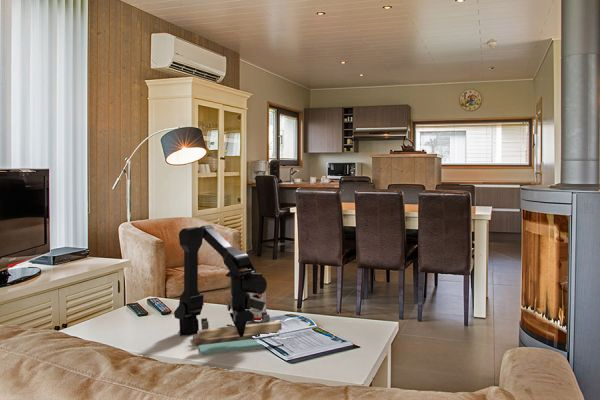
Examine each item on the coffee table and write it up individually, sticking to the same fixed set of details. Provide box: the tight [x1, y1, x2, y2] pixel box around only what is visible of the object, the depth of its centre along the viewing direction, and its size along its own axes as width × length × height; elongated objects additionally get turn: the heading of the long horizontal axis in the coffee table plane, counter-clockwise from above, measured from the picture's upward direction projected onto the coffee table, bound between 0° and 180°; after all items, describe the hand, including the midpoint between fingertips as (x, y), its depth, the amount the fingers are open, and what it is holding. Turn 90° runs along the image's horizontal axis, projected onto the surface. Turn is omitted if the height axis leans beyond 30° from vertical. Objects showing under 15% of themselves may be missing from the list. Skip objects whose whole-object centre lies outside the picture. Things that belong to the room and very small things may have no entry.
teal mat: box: [198, 339, 265, 356], centre depth 182 cm, size 28×9×1 cm, turn 106°
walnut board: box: [192, 330, 280, 346], centre depth 192 cm, size 30×8×2 cm, turn 106°
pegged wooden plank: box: [200, 311, 271, 330], centre depth 192 cm, size 24×5×6 cm, turn 106°
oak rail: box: [198, 320, 282, 339], centre depth 182 cm, size 28×2×2 cm, turn 106°
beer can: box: [249, 291, 267, 320], centre depth 212 cm, size 6×6×16 cm
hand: (240, 335), depth 182 cm, fingers closed on oak rail, 2 cm apart
